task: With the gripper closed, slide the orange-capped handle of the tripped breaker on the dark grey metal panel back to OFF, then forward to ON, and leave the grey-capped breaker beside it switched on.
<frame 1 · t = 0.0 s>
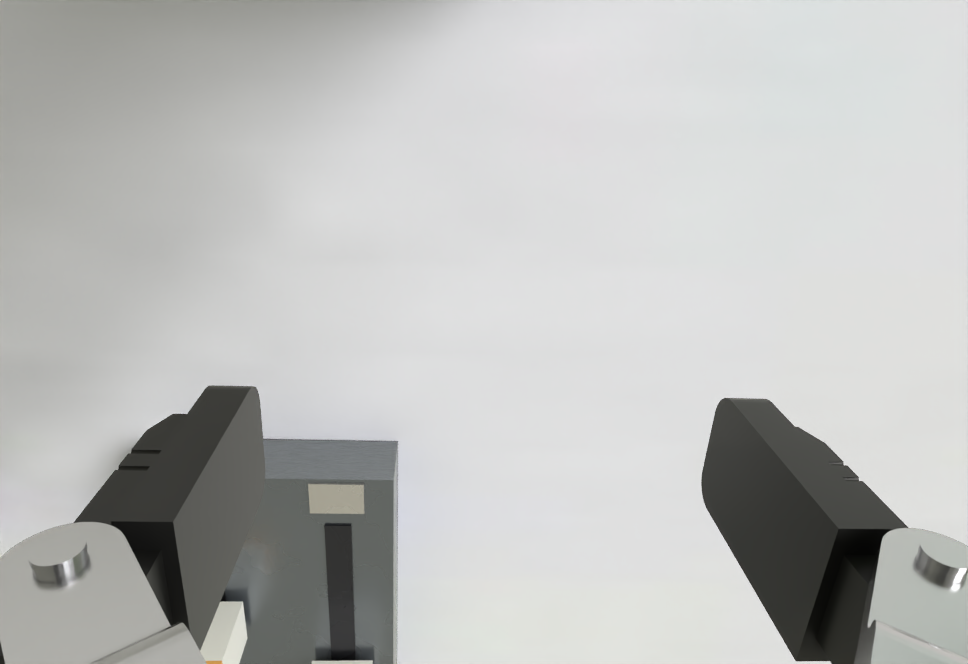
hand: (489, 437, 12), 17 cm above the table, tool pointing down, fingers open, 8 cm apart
tripped breaker: (199, 654, 30), point 5 cm above the table, slide at 4.0 cm
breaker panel: (292, 567, 35), on the table
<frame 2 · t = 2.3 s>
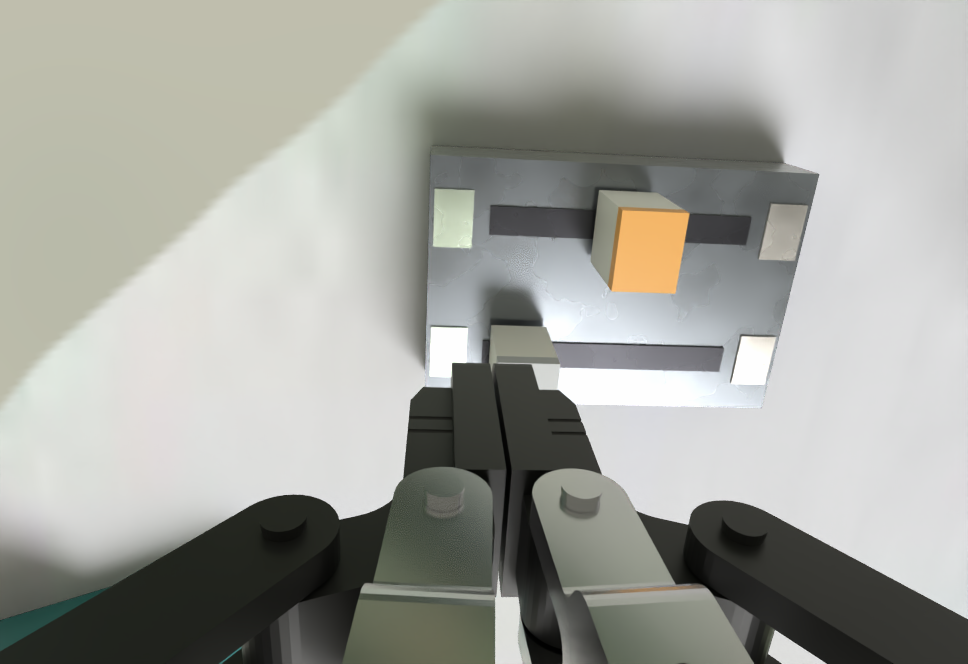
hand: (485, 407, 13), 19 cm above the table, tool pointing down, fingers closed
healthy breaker: (520, 376, 27), point 5 cm above the table, slide at 8.0 cm
tripped breaker: (635, 239, 25), point 5 cm above the table, slide at 4.0 cm
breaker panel: (596, 272, 32), on the table
bracket: (164, 617, 39), on the table
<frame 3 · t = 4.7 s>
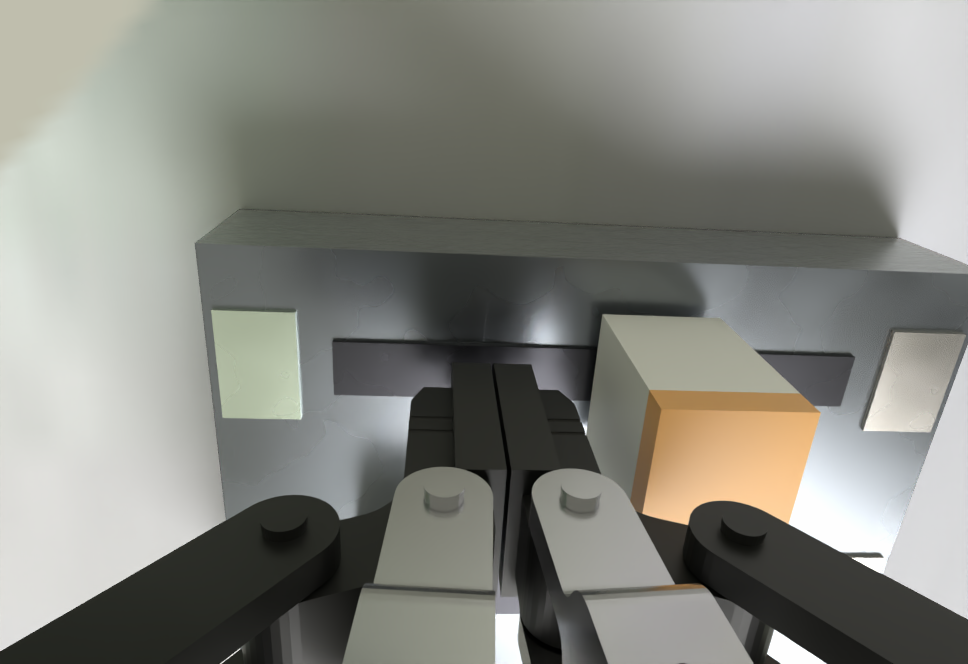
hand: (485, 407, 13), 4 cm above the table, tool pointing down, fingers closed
tripped breaker: (680, 431, 12), point 5 cm above the table, slide at 3.0 cm, touching gripper
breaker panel: (559, 424, 18), on the table
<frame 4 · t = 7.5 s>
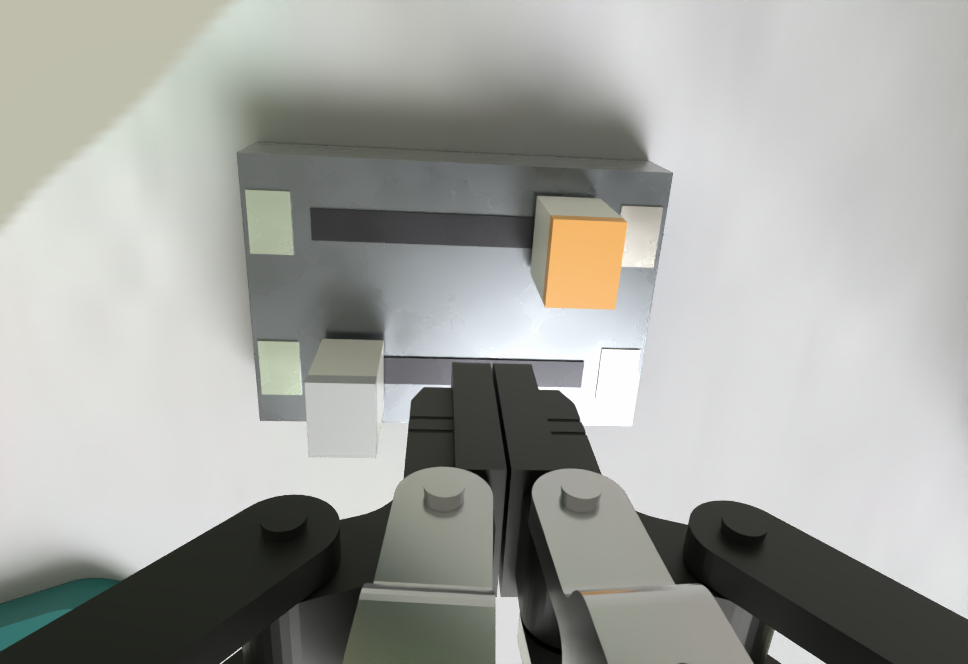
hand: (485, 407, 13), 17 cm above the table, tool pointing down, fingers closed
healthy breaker: (347, 395, 25), point 5 cm above the table, slide at 8.0 cm
tripped breaker: (574, 250, 23), point 5 cm above the table, slide at -0.1 cm
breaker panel: (453, 279, 29), on the table
bracket: (15, 650, 36), on the table
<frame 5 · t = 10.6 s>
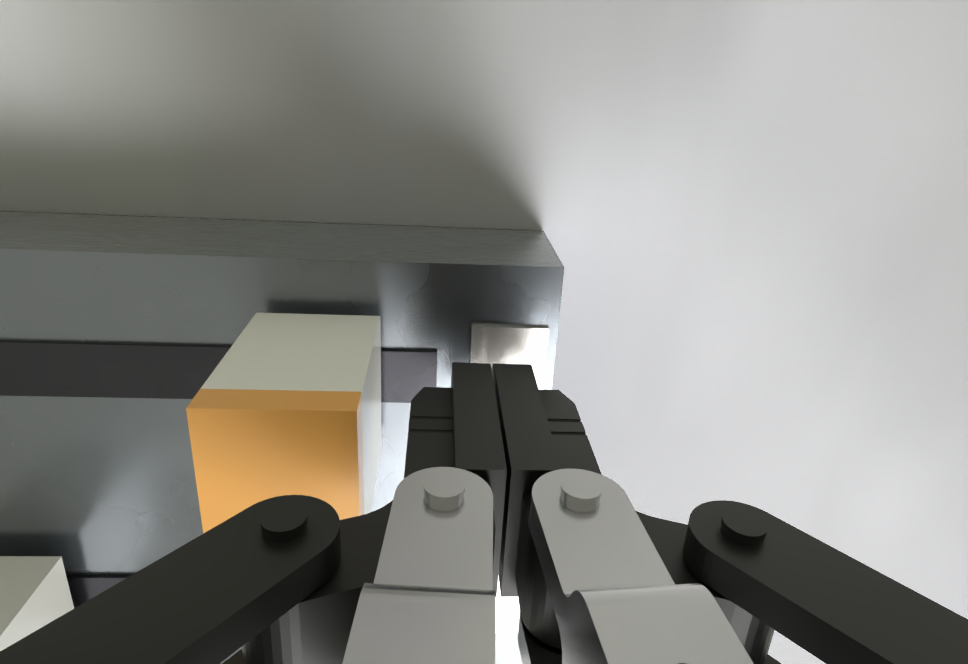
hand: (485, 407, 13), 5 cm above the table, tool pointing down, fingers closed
tripped breaker: (303, 431, 12), point 5 cm above the table, slide at 0.9 cm, touching gripper
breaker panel: (228, 422, 18), on the table
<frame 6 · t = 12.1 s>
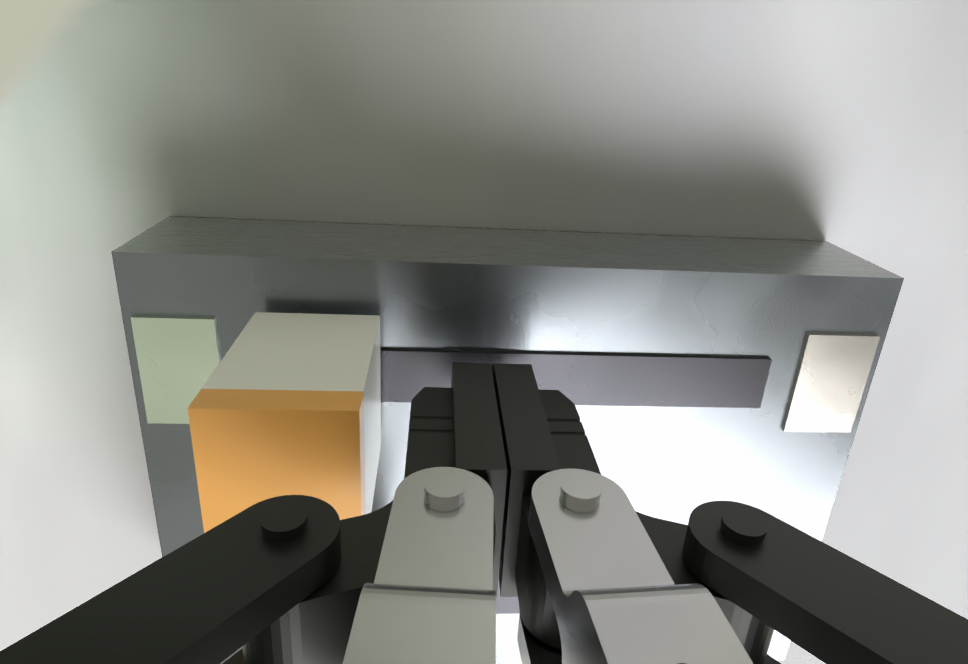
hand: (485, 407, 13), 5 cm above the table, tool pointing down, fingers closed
tripped breaker: (304, 430, 12), point 5 cm above the table, slide at 8.1 cm, touching gripper
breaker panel: (497, 426, 18), on the table
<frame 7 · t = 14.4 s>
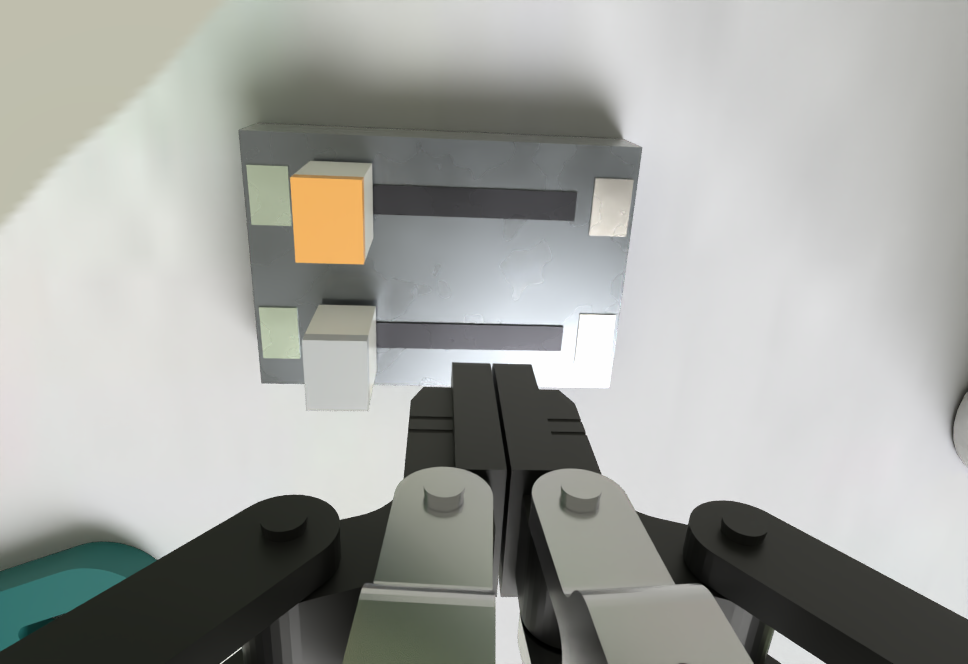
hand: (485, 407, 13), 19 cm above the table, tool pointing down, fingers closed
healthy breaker: (342, 355, 27), point 5 cm above the table, slide at 8.0 cm
tripped breaker: (335, 210, 25), point 5 cm above the table, slide at 8.1 cm
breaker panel: (441, 252, 31), on the table
bracket: (28, 612, 38), on the table
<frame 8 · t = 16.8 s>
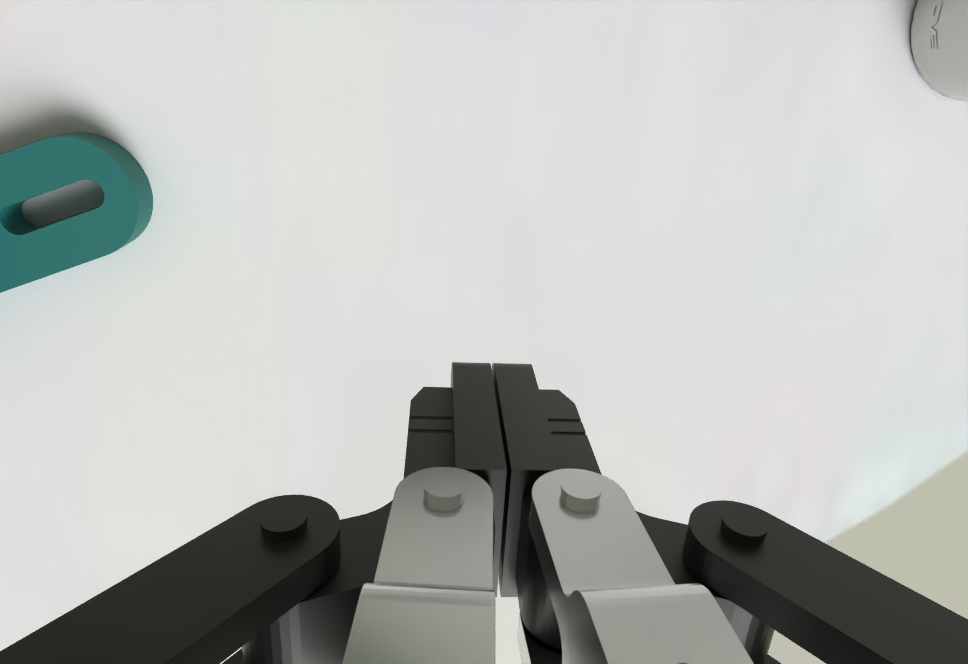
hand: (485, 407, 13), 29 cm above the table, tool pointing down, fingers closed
bracket: (10, 222, 39), on the table
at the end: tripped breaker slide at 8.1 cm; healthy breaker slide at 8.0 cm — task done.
